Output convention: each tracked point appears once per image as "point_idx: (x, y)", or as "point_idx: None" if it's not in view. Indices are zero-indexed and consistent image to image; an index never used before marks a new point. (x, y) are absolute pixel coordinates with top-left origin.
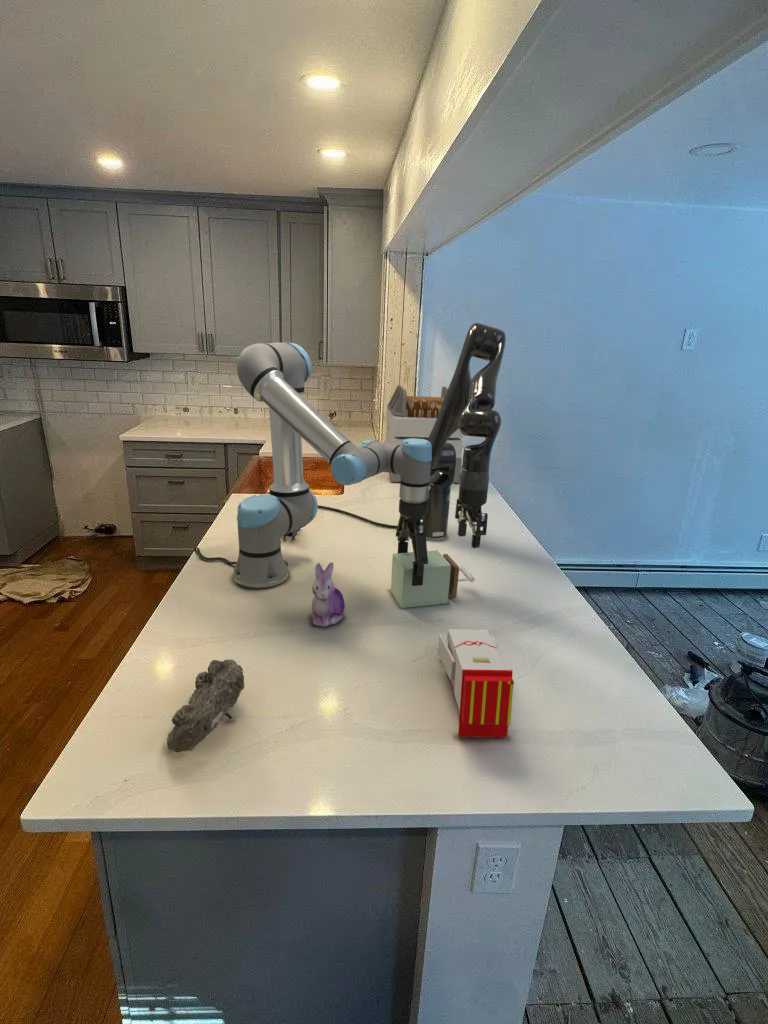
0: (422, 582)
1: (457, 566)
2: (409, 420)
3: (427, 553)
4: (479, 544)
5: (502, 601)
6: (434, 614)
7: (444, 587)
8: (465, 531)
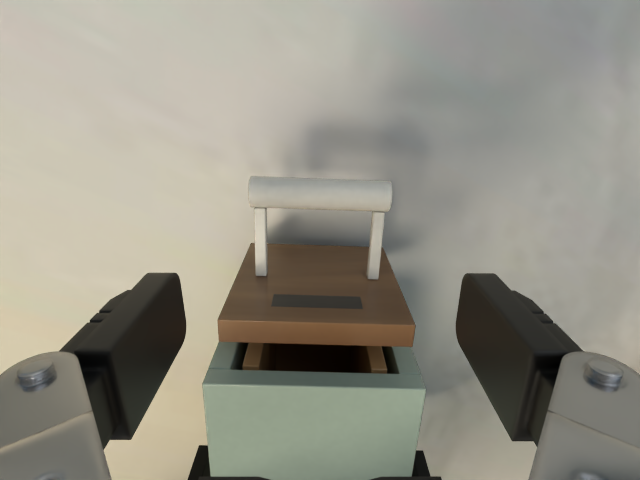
0: (425, 463)
1: (404, 331)
2: None
3: (241, 445)
4: (536, 311)
5: (444, 38)
6: (439, 342)
7: None
8: (160, 301)
